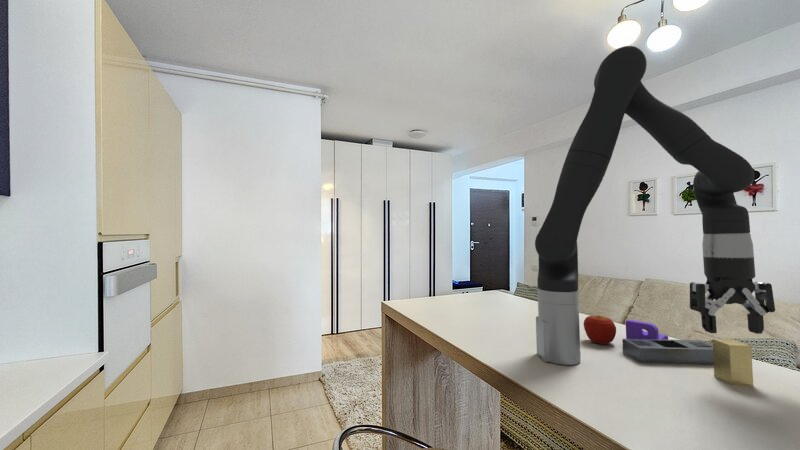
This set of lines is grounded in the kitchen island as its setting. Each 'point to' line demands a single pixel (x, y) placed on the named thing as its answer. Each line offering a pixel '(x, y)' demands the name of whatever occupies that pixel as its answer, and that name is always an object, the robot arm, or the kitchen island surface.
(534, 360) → the kitchen island surface
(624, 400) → the kitchen island surface
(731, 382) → the tan block
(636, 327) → the bracket
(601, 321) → the apple
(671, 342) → the grey base plate
